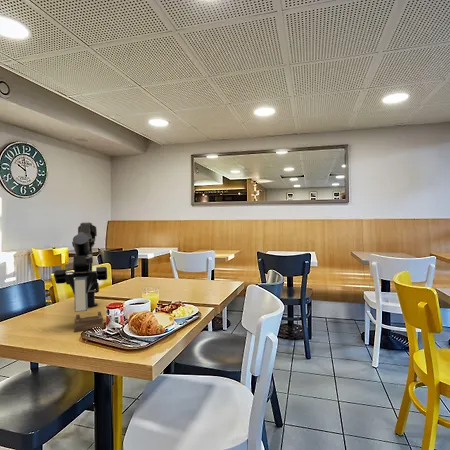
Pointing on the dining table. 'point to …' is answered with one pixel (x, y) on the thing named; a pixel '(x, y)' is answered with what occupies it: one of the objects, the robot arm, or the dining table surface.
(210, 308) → the dining table surface
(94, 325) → the stand
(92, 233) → the robot arm
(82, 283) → the grey rectangular block
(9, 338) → the dining table surface
